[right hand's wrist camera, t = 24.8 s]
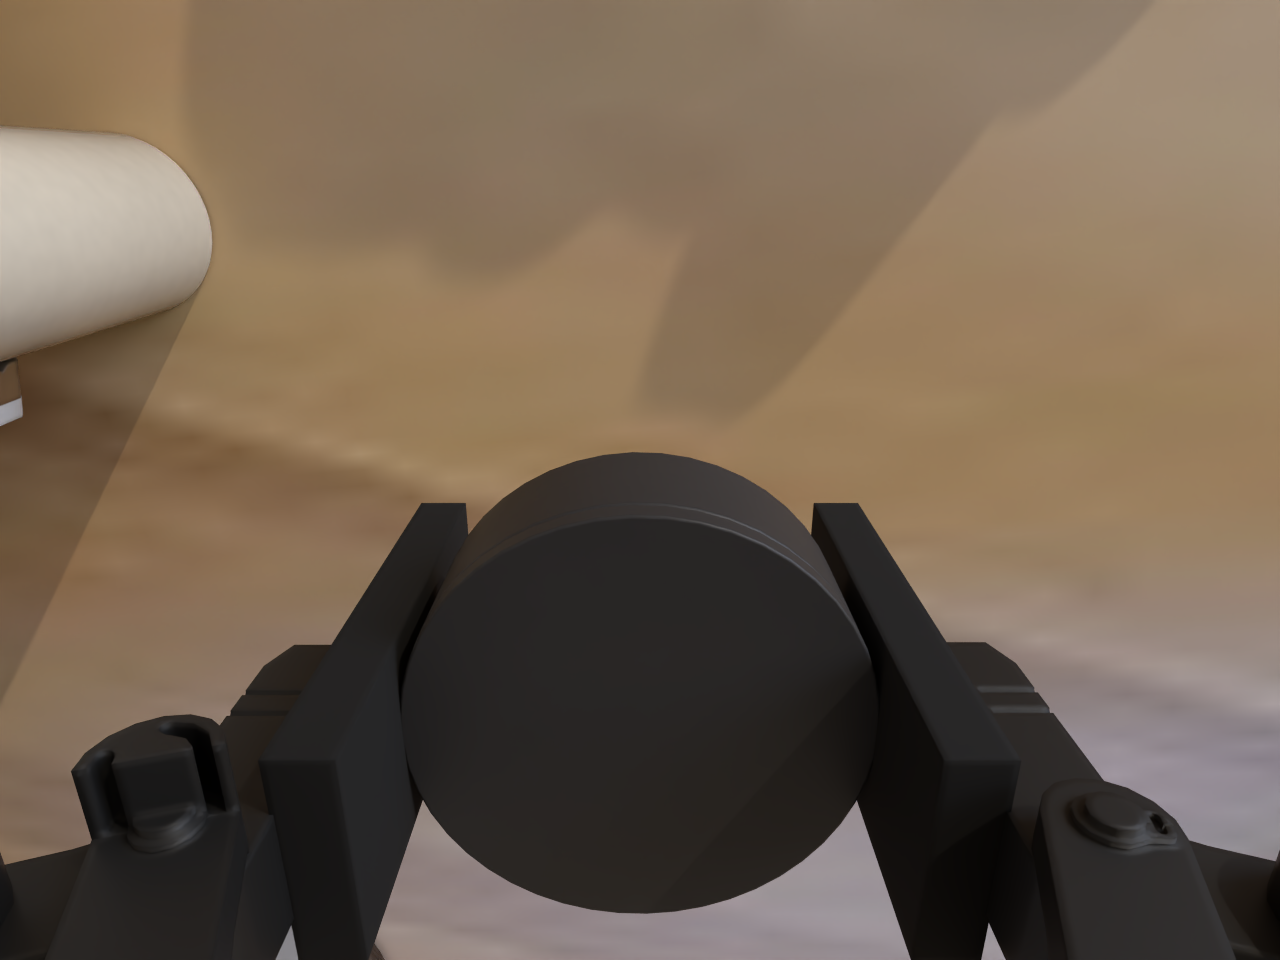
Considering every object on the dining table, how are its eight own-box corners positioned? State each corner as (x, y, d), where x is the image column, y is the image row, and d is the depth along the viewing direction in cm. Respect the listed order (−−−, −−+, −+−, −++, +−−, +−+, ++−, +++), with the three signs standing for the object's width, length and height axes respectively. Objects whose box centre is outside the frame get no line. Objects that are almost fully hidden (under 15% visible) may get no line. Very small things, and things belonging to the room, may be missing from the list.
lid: (378, 708, 13) (328, 813, 11) (546, 375, 11) (524, 425, 9) (713, 849, 14) (726, 970, 12) (920, 566, 12) (978, 651, 10)
